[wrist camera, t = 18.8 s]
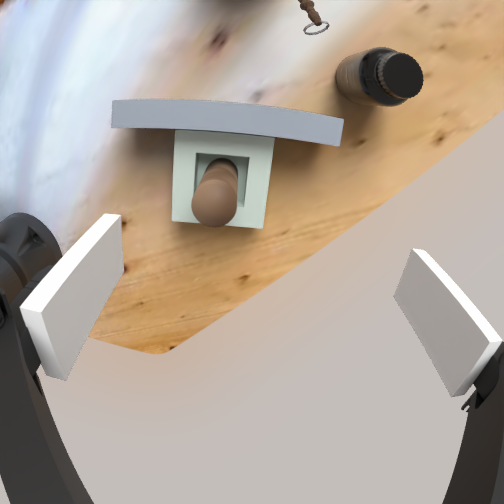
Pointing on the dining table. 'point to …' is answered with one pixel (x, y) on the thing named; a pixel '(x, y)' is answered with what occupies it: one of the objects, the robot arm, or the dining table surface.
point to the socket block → (230, 147)
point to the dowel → (216, 194)
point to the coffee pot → (312, 15)
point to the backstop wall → (227, 119)
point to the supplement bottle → (379, 77)
